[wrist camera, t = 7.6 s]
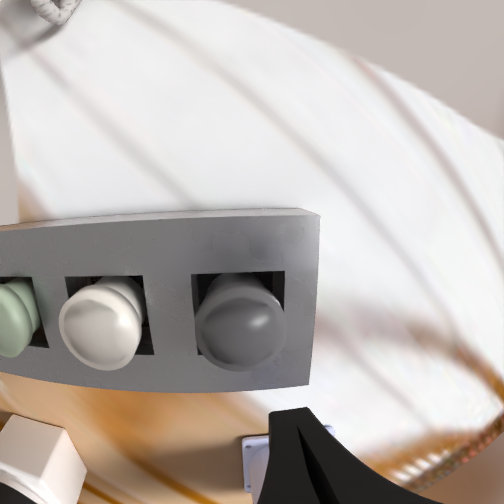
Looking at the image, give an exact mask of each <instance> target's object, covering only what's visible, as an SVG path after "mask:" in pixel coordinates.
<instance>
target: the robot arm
mask: <svg viewBox="0 0 504 504" xmlns="http://www.w3.org/2000/svg"><path fill="white" fill-rule="evenodd" d="M334 434H335V429H334V427H332V426H331V427H324V426H323V425H322V424H321V422H320V421H319V420H318V419H317V418H316V417H315V415H314V414H313V413H312V412H311V410H310V409H309V408H307V407H303V408H297V409H290V410H282V411H274V412H271V413H270V414H269V435H266V436H255V437H246V438H243V439H242V454H243V472H244V488H245V492H247V493H252V500H253V504H443V503H440V502H436V501H433V500H431V499H428V498H425V497H422V496H420V495H418V494H415V493H413V492H411V491H409V490H407V489H404V488H402V487H400V486H398V485H396V484H394V483H393V482H391V481H389V480H388V479H386V478H384V477H383V476H381V475H380V474H378V473H376V472H375V471H373V470H372V469H371V468H369V467H368V466H367V465H365V464H364V463H363V462H361V461H360V460H359V459H358V458H356V457H355V456H354V455H353V454H352V453H350V452H349V451H348V450H347V449H346V448H345V447H344V446H343V445H342V444H341V443H340V442H339V441H338V440H337V439H336V438H334ZM247 445H249V446H247Z"/></svg>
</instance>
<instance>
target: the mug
mask: <svg viewBox="0 0 504 504" xmlns="http://www.w3.org/2000/svg"><path fill="white" fill-rule="evenodd" d="M29 1H30V3H31V5H32V6H33V8H34V9H35V11H36V12H37V13H38V14H39V15H40V16H41V17H42V18H44V19H45V20H47V21H49V22H51V23H54V24H57V25H62V24H64V23H65V22H66V21H67V20H68V19H69V17H70V16H71V14H72V13H73V11H74V10H75V8H76V7H77V5H78V4H79V3H80V2H81V0H60V3H59V8H58V7H57V6H56V5H55V4H54V3H53V2H52V0H29Z"/></svg>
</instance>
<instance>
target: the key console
mask: <svg viewBox="0 0 504 504" xmlns="http://www.w3.org/2000/svg"><path fill="white" fill-rule="evenodd" d="M319 233H320V215H318V214H315V213H313V212H310V211H307V210H304V209H232V210H201V211H177V212H156V213H139V214H123V215H108V216H95V217H82V218H70V219H59V220H49V221H38V222H29V223H20V224H11V225H3V226H0V284H3V285H4V284H6V283H7V282H9V281H11V280H12V279H14V277H32V280H33V285H34V290H35V295H36V299H37V304H38V308H39V312H40V316H41V320H42V323H43V324H42V325H41V326H40V327H39V328H38V329H37V330H36V331H35V332H34V333H33V336H32V339H31V342H30V343H29V345H28V346H27V347H26V348H25V349H24V350H23V351H22V352H21V353H20V354H19V355H18V356H16V357H13V358H8V357H4V356H2V355H0V371H1V372H5V373H9V374H14V375H18V376H23V377H28V378H33V379H38V380H44V381H49V382H55V383H62V384H68V385H76V386H83V387H92V388H101V389H112V390H124V391H140V392H164V393H212V392H237V391H253V390H266V389H277V388H287V387H296V386H304V385H309V377H310V367H311V358H312V347H313V336H314V324H315V311H316V296H317V280H318V260H319ZM262 271H273V295H274V296H275V297H276V299H277V300H278V302H279V304H280V306H281V308H282V310H283V312H284V314H285V316H286V319H287V322H288V337H287V341H286V344H285V346H284V348H283V349H282V351H281V352H280V354H279V355H278V356H277V357H276V358H275V359H274V360H273V361H271V362H270V363H269V364H267V365H265V366H263V367H261V368H258V369H255V370H251V371H245V372H235V371H229V370H225V369H222V368H220V367H218V366H216V365H214V364H212V363H211V362H210V361H209V360H207V359H206V358H205V357H204V355H203V354H202V353H201V351H200V349H199V348H198V345H197V342H196V338H195V327H196V320H197V314H198V310H199V297H198V283H197V274H208V273H236V272H262ZM132 275H143V282H144V290H145V298H146V305H147V312H148V319H149V325H150V327H142V335H141V339H140V342H139V345H138V347H137V349H136V351H135V354H134V356H133V358H132V359H131V360H130V362H129V363H128V364H127V365H125V366H124V367H122V368H120V369H116V370H110V371H105V370H99V369H95V368H92V367H90V366H88V365H86V364H84V363H83V362H81V361H80V360H79V359H77V358H76V357H75V356H74V355H73V354H72V353H71V352H70V350H69V349H68V348H67V346H66V344H65V343H64V341H63V339H62V336H61V333H60V329H59V315H60V311H61V309H62V307H63V305H64V304H65V302H66V301H67V300H69V299H70V298H71V297H72V296H73V295H74V294H75V293H77V292H78V291H79V290H80V289H82V288H84V287H86V286H90V285H93V284H92V278H91V276H132Z"/></svg>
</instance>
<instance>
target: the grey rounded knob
mask: <svg viewBox="0 0 504 504" xmlns="http://www.w3.org/2000/svg"><path fill="white" fill-rule="evenodd" d="M287 337H288V322H287V319H286V316H285V314H284V312H283V310H282V308H281V306H280V304H279V302H278V300H277V299H276V297H275V296H274V295H273V294H272V293H271V292H270V291H268V290H267V289H266V287H265V285H264V284H263V282H262V281H261V280H260V279H259V278H258V277H257V276H255V275H253V274H251V273H249V272H236V273H223V274H221V275H219V276H218V277H217V278H215V279H214V280H213V281H212V283H211V284H210V285H209V287H208V289H207V292H206V297H205V299H204V300H203V302H202V303H201V305H200V308H199V310H198V314H197V320H196V327H195V338H196V342H197V345H198V348H199V349H200V351H201V353H202V354H203V355H204V357H205V358H206V359H207V360H209V361H210V362H211V363H212V364H214V365H216V366H218V367H220V368H222V369H225V370H229V371H235V372H245V371H251V370H255V369H258V368H261V367H263V366H265V365H267V364H269V363H270V362H271V361H273V360H274V359H275V358H276V357H277V356H278V355H279V354H280V352H281V351H282V349H283V348H284V346H285V344H286V341H287Z"/></svg>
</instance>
